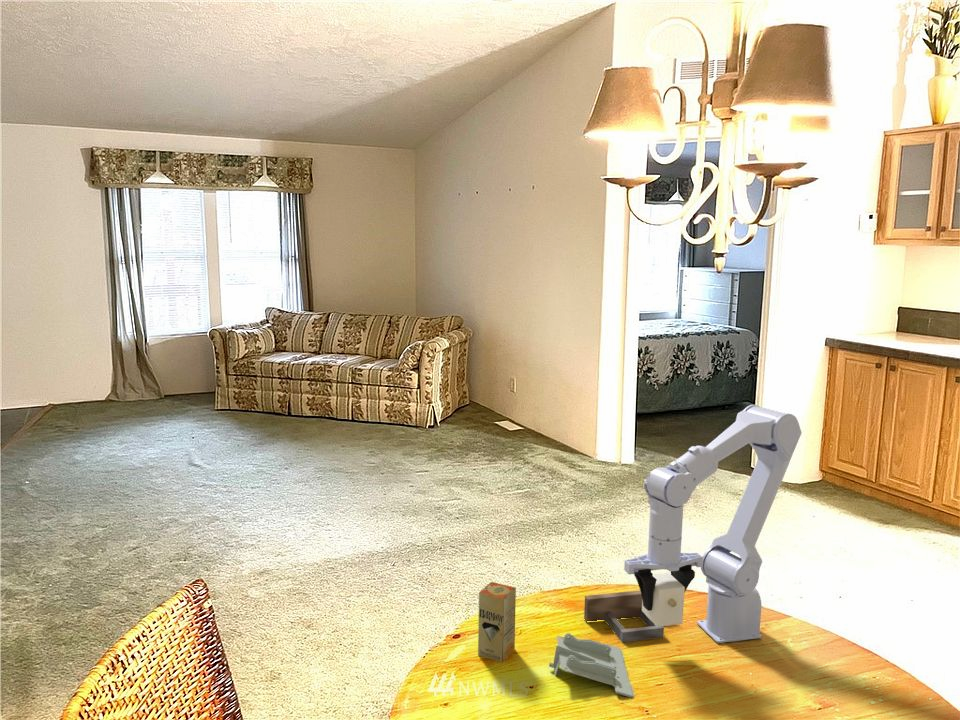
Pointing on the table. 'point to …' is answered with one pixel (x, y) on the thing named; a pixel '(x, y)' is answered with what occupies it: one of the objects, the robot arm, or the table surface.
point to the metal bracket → (592, 662)
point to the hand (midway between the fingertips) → (661, 606)
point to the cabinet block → (666, 601)
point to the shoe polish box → (496, 621)
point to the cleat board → (621, 614)
